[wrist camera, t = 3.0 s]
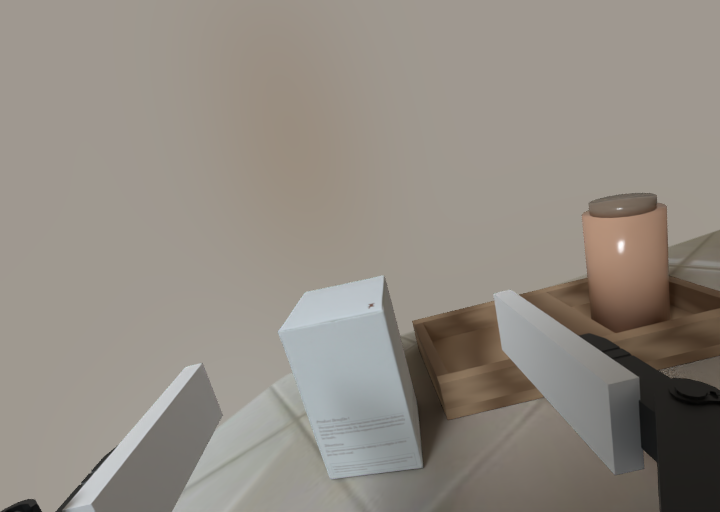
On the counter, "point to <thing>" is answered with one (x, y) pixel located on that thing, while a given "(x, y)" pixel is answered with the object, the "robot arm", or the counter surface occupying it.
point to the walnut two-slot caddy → (571, 309)
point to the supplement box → (354, 379)
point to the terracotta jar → (627, 261)
